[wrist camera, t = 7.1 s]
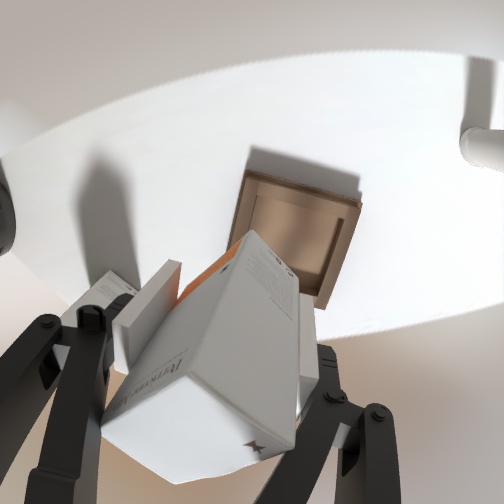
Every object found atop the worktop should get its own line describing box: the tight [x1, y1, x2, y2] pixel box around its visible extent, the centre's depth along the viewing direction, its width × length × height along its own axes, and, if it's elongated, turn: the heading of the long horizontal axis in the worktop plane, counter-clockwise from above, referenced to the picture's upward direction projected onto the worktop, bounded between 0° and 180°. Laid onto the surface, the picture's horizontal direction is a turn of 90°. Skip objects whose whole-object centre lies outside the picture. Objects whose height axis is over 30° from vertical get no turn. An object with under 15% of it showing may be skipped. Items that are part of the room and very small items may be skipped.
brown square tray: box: [227, 170, 363, 310], centre depth 37 cm, size 14×14×3 cm
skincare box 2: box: [100, 230, 299, 484], centre depth 14 cm, size 6×4×12 cm
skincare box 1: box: [60, 270, 138, 327], centre depth 38 cm, size 8×7×16 cm
